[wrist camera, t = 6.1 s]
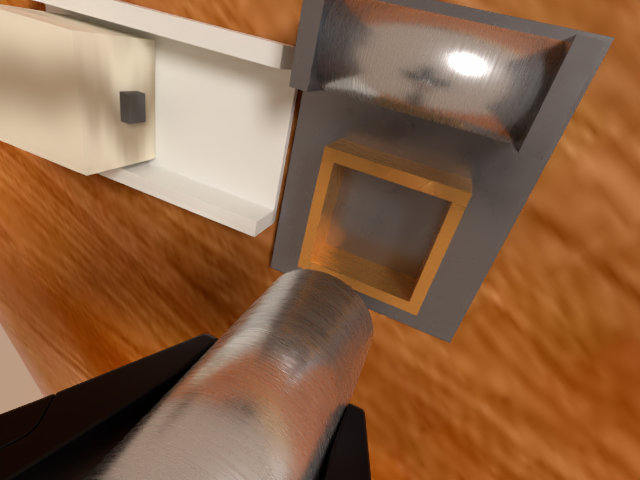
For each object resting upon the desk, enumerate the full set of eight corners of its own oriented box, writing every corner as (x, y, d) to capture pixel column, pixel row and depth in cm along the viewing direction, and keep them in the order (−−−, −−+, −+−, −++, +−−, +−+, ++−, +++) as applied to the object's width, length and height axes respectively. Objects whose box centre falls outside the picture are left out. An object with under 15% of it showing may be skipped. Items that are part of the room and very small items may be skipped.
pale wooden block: (162, 161, 24) (95, 179, 19) (75, 128, 25) (-5, 138, 21) (163, 42, 20) (82, 33, 16) (63, 14, 22) (-35, -2, 18)
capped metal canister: (355, 384, 12) (91, 1083, 4) (258, 338, 12) (-137, 823, 4) (388, 298, 10) (31, 1265, 2) (274, 251, 11) (-328, 784, 3)
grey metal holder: (450, 337, 22) (445, 399, 17) (274, 263, 24) (233, 302, 20) (610, 38, 14) (669, 22, 10) (327, -21, 17) (279, -54, 12)
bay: (274, 222, 23) (254, 237, 21) (68, 142, 27) (33, 147, 25) (305, 48, 18) (283, 44, 16) (48, -18, 22) (3, -29, 20)
